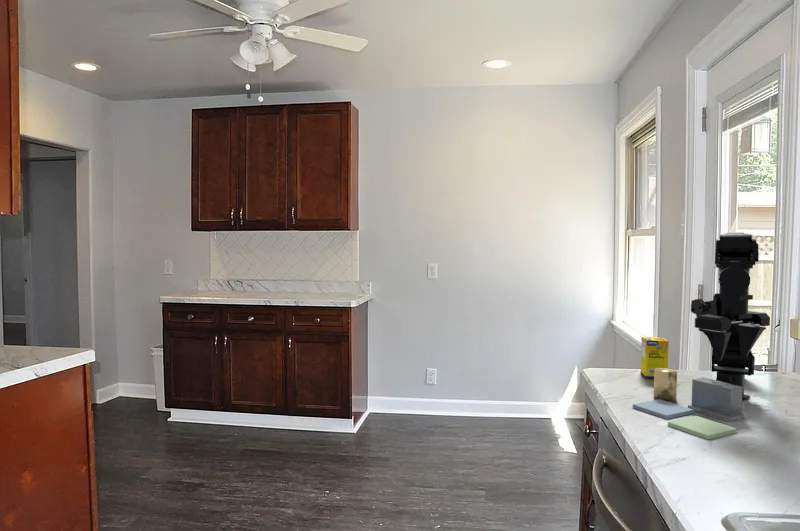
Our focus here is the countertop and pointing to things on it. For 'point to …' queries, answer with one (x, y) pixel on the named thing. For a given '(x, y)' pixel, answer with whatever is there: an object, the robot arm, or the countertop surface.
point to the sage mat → (702, 427)
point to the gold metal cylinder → (665, 384)
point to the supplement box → (653, 355)
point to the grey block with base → (717, 399)
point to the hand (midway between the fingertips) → (731, 358)
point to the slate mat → (663, 409)
